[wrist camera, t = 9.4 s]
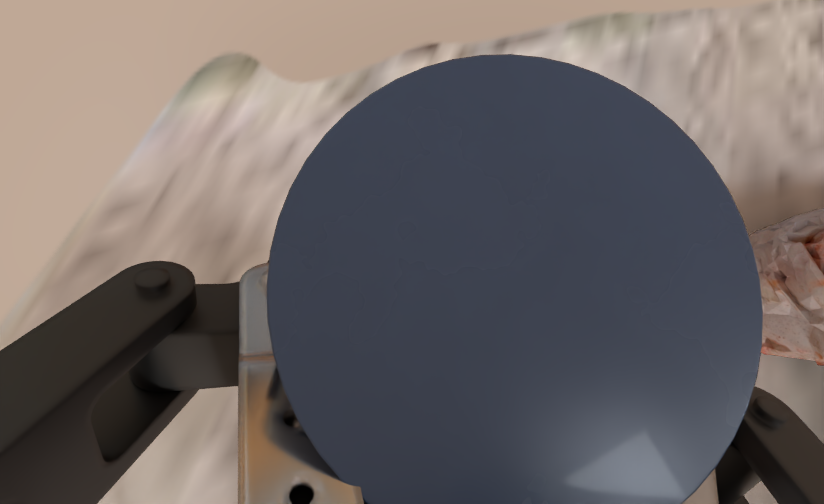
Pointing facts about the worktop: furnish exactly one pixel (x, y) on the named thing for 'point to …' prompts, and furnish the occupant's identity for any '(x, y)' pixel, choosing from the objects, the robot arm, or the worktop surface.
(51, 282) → the worktop surface
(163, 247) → the worktop surface
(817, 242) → the food item
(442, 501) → the lid
